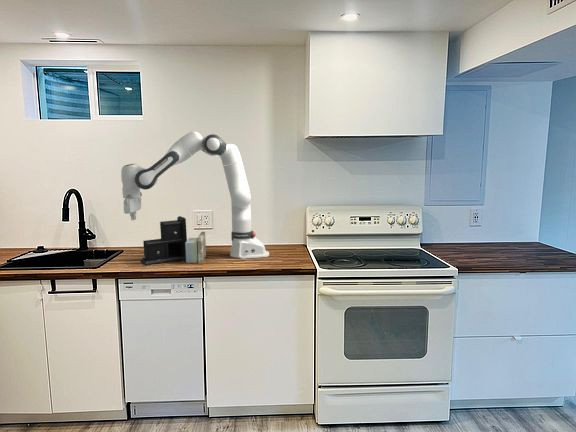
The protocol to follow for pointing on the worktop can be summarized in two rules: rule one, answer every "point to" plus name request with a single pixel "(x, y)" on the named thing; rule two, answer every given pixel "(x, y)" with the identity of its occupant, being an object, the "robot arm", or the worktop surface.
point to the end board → (201, 247)
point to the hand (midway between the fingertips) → (133, 219)
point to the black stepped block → (167, 243)
